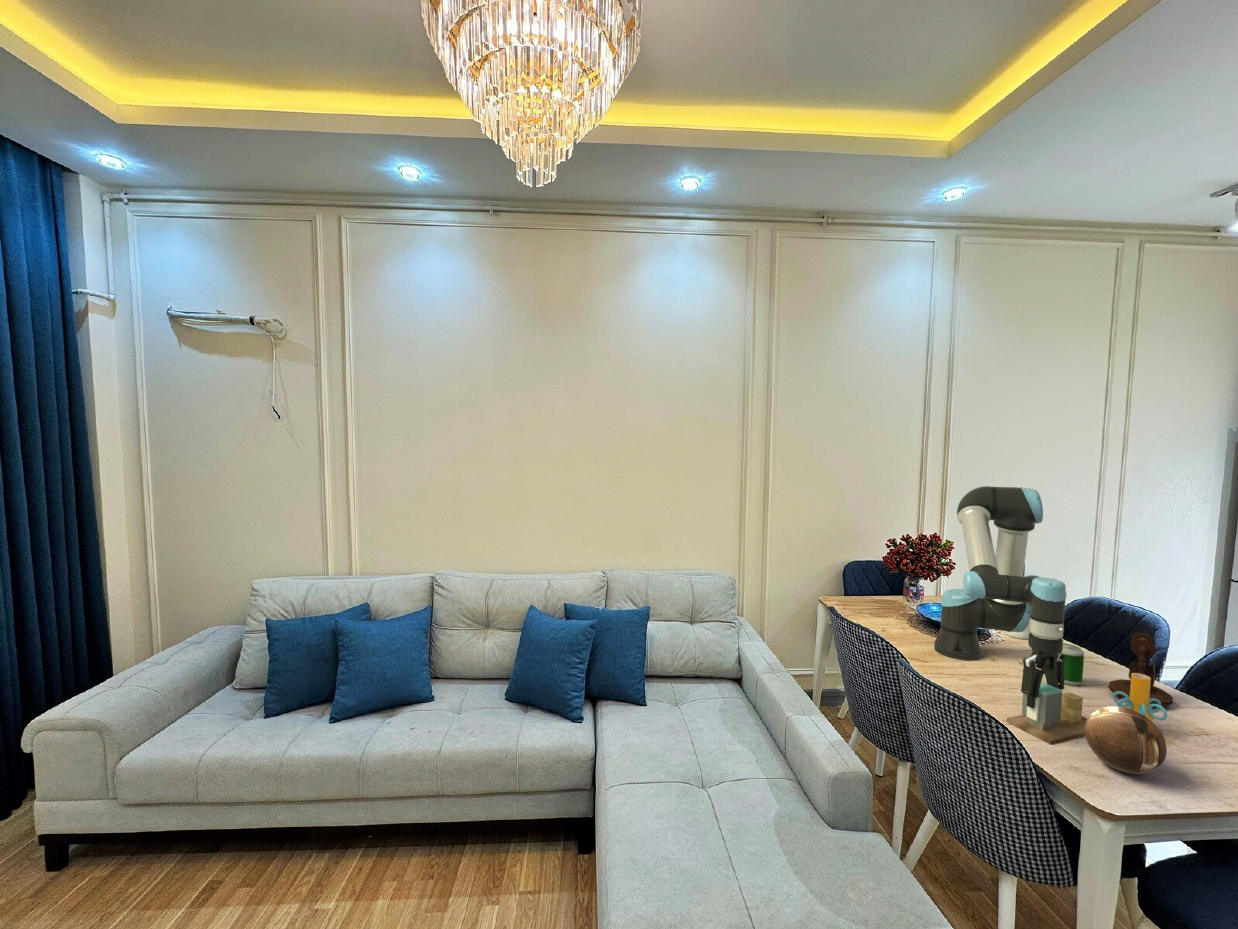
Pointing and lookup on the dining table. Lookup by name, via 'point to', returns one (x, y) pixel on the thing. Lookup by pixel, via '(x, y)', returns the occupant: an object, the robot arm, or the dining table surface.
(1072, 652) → the soda can
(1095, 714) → the bronze metallic ball
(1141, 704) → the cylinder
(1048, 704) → the grey teal-topped block
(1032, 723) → the steel post
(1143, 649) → the turned wooden candlestick
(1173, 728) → the dining table surface
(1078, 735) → the walnut board
